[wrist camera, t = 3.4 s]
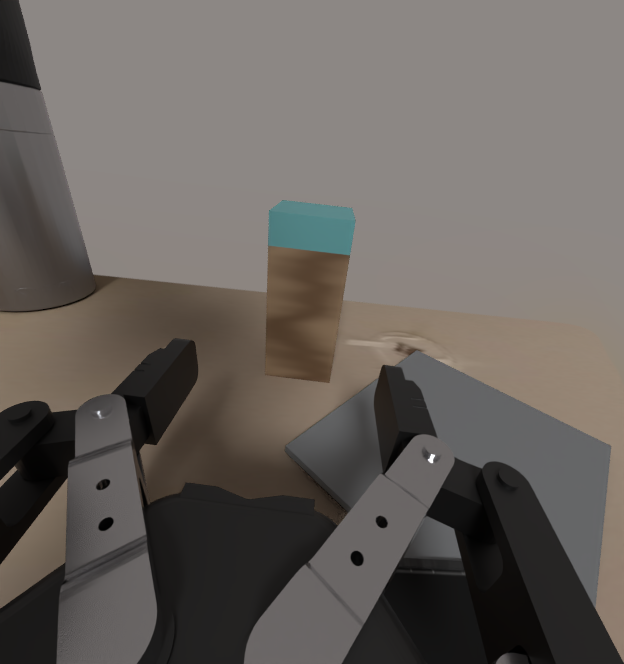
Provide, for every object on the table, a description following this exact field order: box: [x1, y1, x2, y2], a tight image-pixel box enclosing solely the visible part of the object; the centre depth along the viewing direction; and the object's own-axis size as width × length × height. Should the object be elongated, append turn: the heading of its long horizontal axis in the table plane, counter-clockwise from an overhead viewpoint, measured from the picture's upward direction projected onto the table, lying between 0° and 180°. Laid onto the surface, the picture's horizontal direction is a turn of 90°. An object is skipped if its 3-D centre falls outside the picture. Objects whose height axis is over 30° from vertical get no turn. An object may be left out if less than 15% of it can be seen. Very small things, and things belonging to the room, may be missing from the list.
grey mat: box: [285, 351, 611, 607], centre depth 19 cm, size 14×16×1 cm
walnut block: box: [265, 200, 355, 383], centre depth 23 cm, size 5×5×12 cm
